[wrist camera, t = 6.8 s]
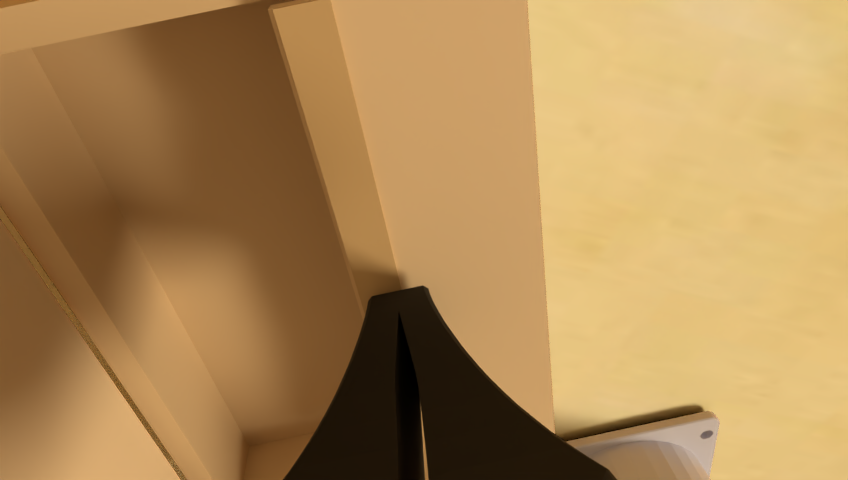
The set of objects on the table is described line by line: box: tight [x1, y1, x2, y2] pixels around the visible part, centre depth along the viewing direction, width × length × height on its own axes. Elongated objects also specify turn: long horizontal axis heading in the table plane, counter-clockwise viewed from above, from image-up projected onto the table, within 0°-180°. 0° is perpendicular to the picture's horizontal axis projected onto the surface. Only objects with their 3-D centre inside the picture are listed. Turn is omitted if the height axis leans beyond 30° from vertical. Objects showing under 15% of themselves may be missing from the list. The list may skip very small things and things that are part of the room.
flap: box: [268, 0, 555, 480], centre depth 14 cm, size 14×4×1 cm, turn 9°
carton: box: [0, 0, 363, 480], centre depth 15 cm, size 16×11×3 cm
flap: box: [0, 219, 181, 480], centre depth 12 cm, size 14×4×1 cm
